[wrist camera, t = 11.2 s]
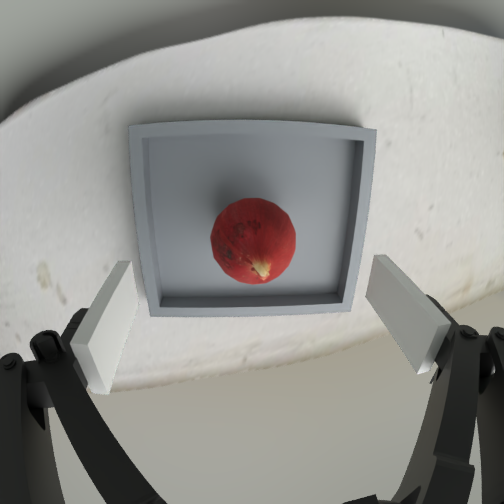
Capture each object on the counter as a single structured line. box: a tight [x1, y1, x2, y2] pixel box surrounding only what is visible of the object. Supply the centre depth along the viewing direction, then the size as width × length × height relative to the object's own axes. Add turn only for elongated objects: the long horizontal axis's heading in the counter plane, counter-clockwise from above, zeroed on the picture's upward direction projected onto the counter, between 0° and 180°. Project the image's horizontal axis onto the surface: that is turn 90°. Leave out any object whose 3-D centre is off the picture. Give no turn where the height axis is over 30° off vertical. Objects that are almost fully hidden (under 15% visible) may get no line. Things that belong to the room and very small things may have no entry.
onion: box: [210, 198, 296, 285], centre depth 21 cm, size 6×6×8 cm
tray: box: [128, 120, 377, 317], centre depth 24 cm, size 18×16×2 cm
